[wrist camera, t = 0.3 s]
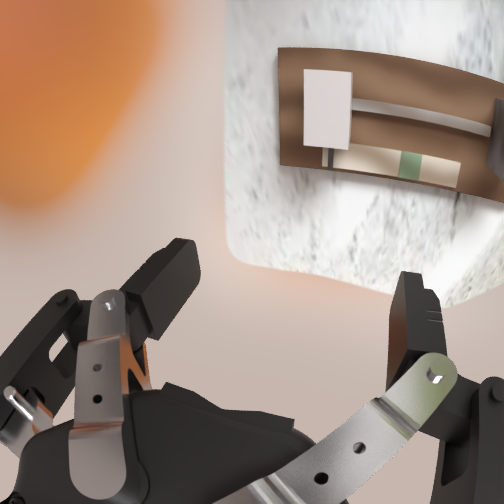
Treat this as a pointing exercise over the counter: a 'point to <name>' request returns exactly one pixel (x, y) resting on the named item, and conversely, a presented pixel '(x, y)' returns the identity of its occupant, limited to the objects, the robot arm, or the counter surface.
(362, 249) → the counter surface
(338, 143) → the block
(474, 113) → the base
